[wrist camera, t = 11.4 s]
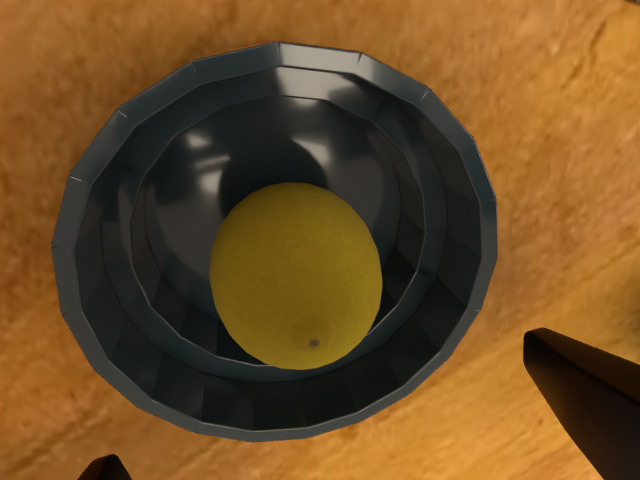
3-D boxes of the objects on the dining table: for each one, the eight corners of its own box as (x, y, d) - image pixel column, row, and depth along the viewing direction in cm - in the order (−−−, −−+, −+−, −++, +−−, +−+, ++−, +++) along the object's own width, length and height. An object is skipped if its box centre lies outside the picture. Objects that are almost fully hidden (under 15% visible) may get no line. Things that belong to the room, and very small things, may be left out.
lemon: (216, 152, 16) (203, 238, 9) (356, 164, 17) (442, 247, 10) (212, 280, 18) (199, 431, 11) (337, 283, 20) (397, 420, 12)
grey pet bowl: (413, 8, 16) (494, -9, 11) (439, 305, 22) (499, 380, 17) (40, 91, 15) (-56, 114, 10) (175, 380, 21) (158, 484, 16)
